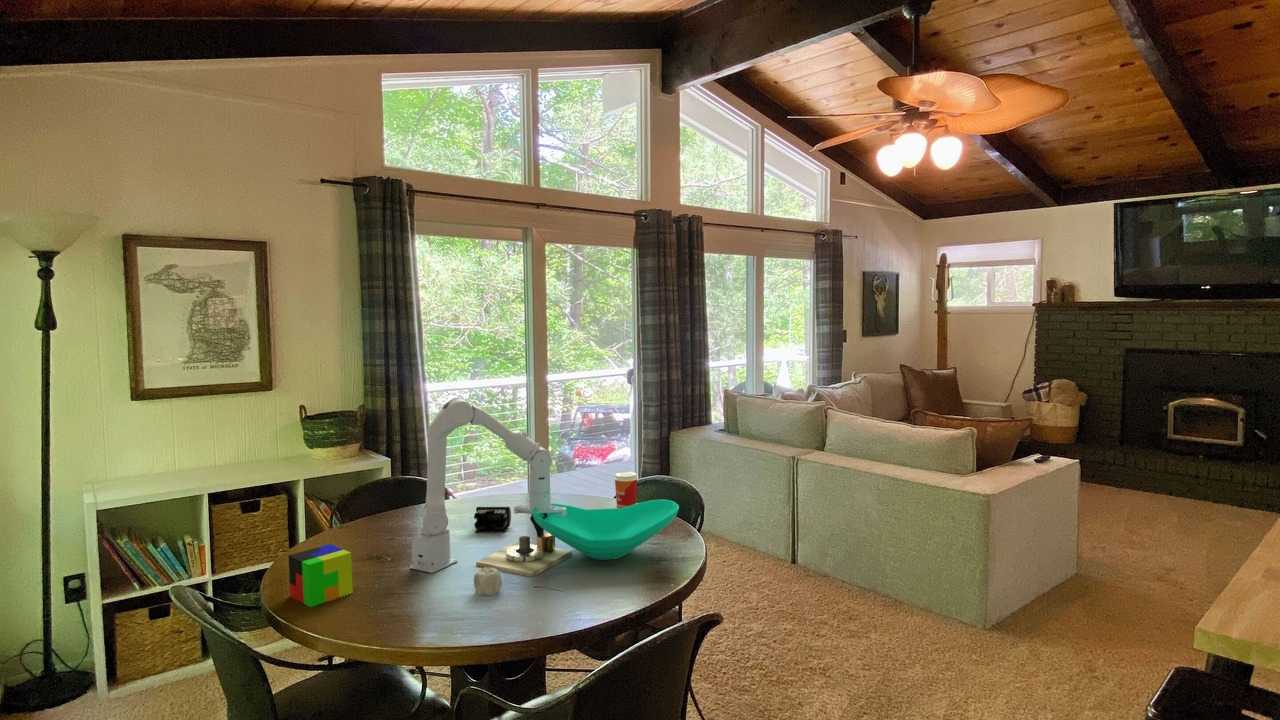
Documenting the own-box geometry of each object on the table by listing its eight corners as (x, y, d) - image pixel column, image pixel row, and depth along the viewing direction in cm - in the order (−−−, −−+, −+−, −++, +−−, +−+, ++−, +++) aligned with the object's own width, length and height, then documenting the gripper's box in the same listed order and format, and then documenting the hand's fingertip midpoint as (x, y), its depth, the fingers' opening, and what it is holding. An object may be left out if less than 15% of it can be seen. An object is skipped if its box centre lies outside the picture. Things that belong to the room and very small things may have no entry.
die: (482, 597, 164) (481, 576, 163) (473, 591, 168) (473, 570, 167) (502, 592, 167) (501, 571, 166) (493, 586, 171) (492, 565, 170)
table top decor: (672, 536, 206) (671, 491, 205) (687, 571, 179) (687, 520, 178) (534, 541, 202) (533, 496, 201) (528, 578, 175) (527, 526, 174)
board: (532, 576, 176) (531, 553, 175) (476, 565, 184) (475, 542, 184) (572, 554, 192) (571, 532, 191) (518, 544, 200) (518, 523, 200)
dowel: (550, 553, 190) (550, 540, 190) (545, 552, 191) (545, 539, 191) (554, 551, 192) (553, 538, 191) (549, 550, 192) (548, 537, 192)
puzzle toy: (331, 583, 173) (330, 543, 173) (352, 593, 167) (351, 552, 166) (290, 596, 166) (288, 555, 165) (310, 608, 159) (308, 564, 159)
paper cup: (611, 515, 228) (611, 472, 226) (634, 513, 230) (633, 470, 229) (618, 522, 220) (617, 478, 219) (641, 519, 222) (641, 475, 221)
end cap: (511, 525, 218) (510, 504, 218) (506, 533, 211) (505, 510, 211) (479, 525, 218) (478, 504, 218) (473, 533, 211) (472, 511, 211)
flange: (520, 564, 181) (520, 550, 181) (499, 554, 188) (498, 541, 188) (563, 551, 191) (563, 537, 190) (541, 542, 198) (541, 529, 198)
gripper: (509, 493, 191) (510, 543, 192) (560, 496, 188) (561, 546, 189) (518, 487, 198) (519, 534, 199) (568, 489, 195) (569, 538, 196)
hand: (540, 540), depth 194 cm, fingers closed, pressing on flange
